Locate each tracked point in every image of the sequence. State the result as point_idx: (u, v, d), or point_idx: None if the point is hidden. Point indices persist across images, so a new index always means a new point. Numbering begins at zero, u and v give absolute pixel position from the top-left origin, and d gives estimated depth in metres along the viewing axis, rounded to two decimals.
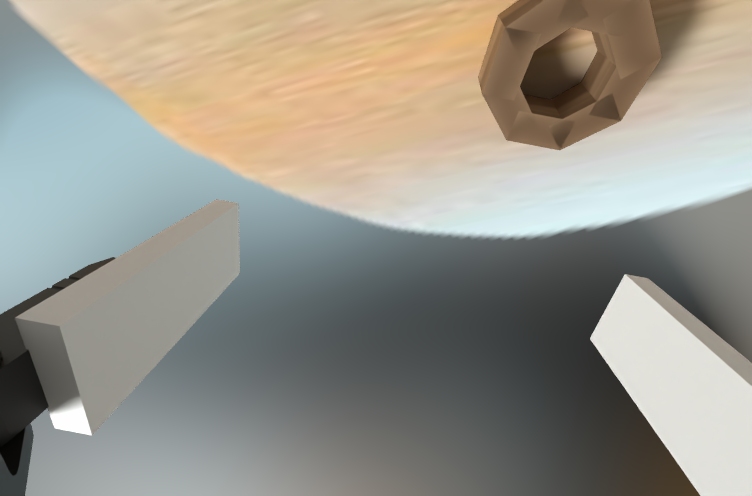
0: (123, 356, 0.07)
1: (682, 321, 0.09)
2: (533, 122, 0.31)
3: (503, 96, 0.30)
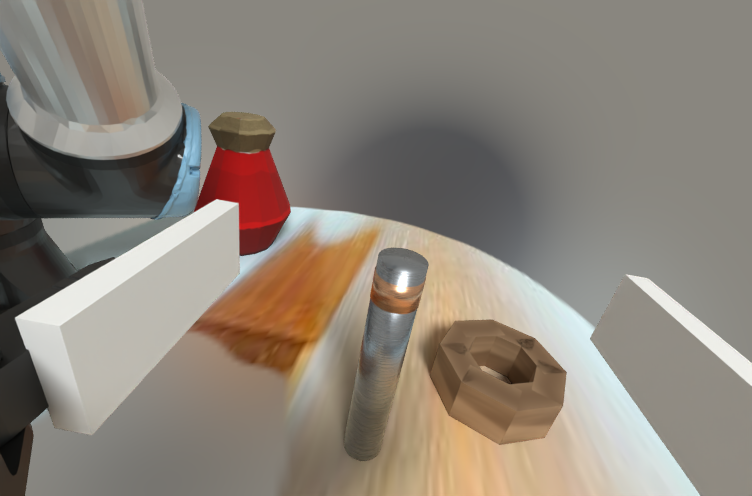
0: (123, 356, 0.07)
1: (682, 321, 0.09)
2: (541, 382, 0.33)
3: (518, 397, 0.31)
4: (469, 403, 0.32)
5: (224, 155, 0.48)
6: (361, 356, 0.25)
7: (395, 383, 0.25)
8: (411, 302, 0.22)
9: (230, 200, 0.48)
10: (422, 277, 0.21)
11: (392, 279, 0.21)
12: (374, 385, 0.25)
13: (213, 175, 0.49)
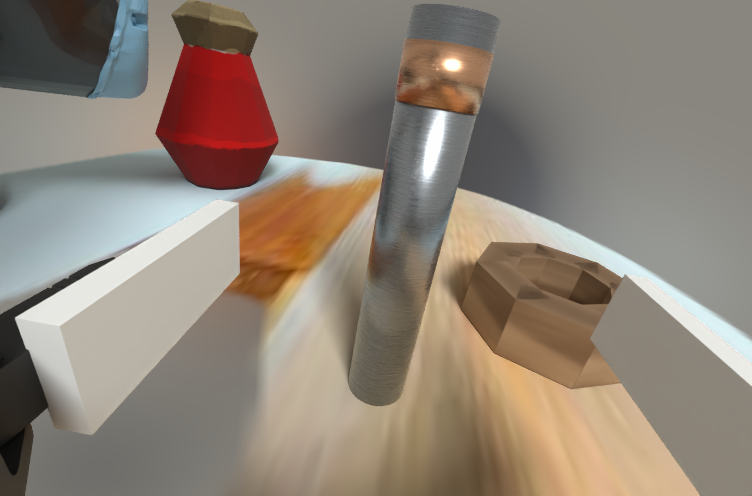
0: (123, 356, 0.07)
1: (682, 321, 0.09)
2: None
3: (599, 318, 0.22)
4: (526, 331, 0.22)
5: (192, 53, 0.38)
6: (378, 221, 0.15)
7: (432, 268, 0.16)
8: (471, 87, 0.12)
9: (200, 110, 0.38)
10: (493, 35, 0.12)
11: (440, 30, 0.11)
12: (400, 266, 0.15)
13: (179, 80, 0.39)
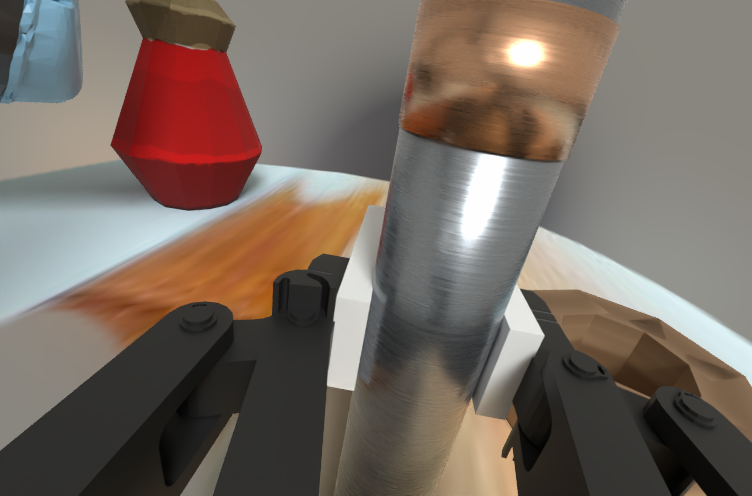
0: None
1: None
2: (717, 398, 0.17)
3: None
4: None
5: (151, 49, 0.31)
6: (367, 338, 0.08)
7: (463, 415, 0.09)
8: (572, 106, 0.05)
9: (162, 118, 0.32)
10: None
11: None
12: (408, 424, 0.08)
13: (137, 82, 0.32)
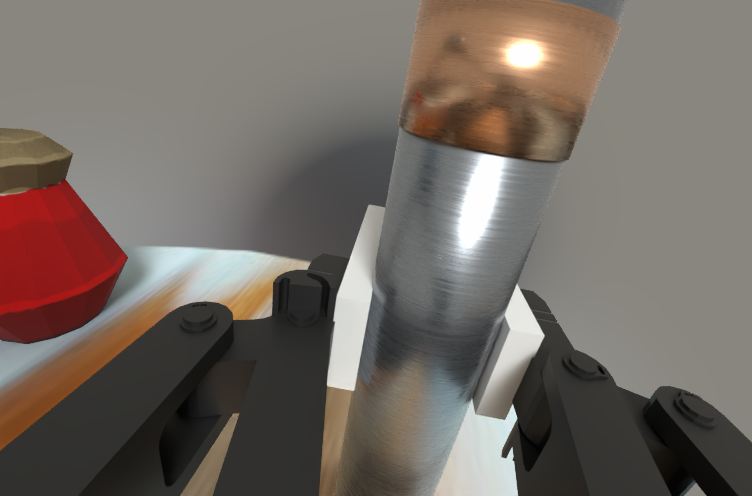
0: None
1: None
2: None
3: None
4: None
5: None
6: (367, 339, 0.08)
7: (463, 416, 0.09)
8: (573, 107, 0.05)
9: None
10: None
11: None
12: (408, 426, 0.08)
13: None
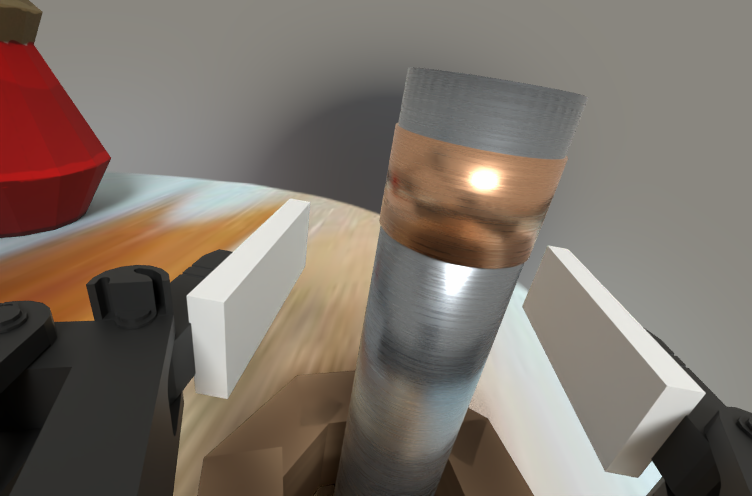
0: (246, 333, 0.08)
1: (581, 280, 0.10)
2: None
3: None
4: None
5: None
6: (355, 398, 0.09)
7: (444, 465, 0.10)
8: (527, 226, 0.06)
9: None
10: (573, 128, 0.06)
11: (469, 125, 0.05)
12: (392, 478, 0.09)
13: None
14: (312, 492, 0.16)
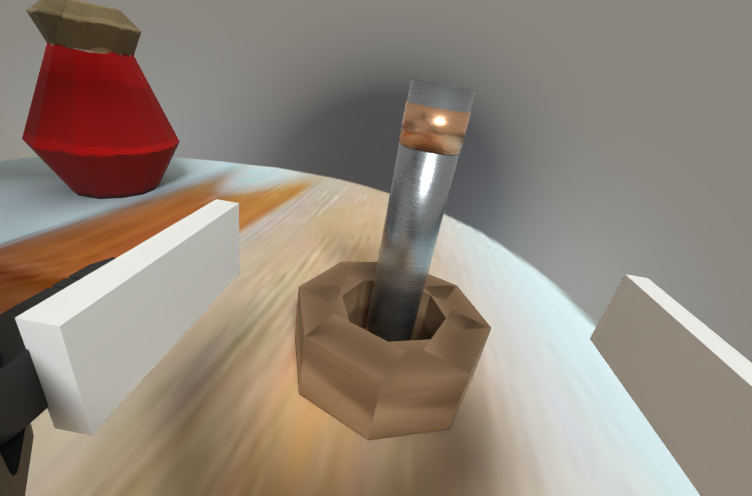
0: (123, 356, 0.07)
1: (682, 321, 0.09)
2: (445, 340, 0.21)
3: (395, 359, 0.19)
4: (320, 372, 0.19)
5: (52, 53, 0.35)
6: (385, 230, 0.20)
7: (427, 267, 0.21)
8: (454, 137, 0.17)
9: (63, 114, 0.36)
10: (469, 101, 0.17)
11: (431, 99, 0.16)
12: (402, 265, 0.20)
13: (42, 82, 0.36)
14: None
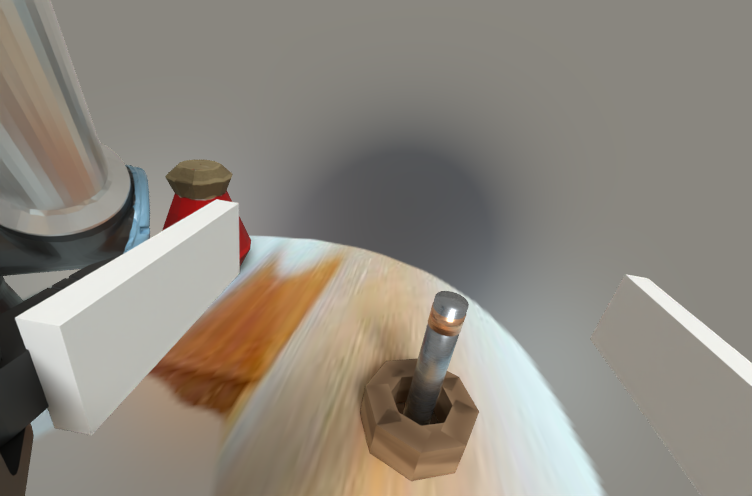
0: (123, 356, 0.07)
1: (682, 321, 0.09)
2: (452, 423, 0.37)
3: (426, 438, 0.35)
4: (384, 443, 0.36)
5: (180, 203, 0.51)
6: (419, 364, 0.36)
7: (442, 382, 0.37)
8: (457, 328, 0.33)
9: None
10: (465, 312, 0.33)
11: (446, 314, 0.32)
12: (429, 384, 0.36)
13: (171, 220, 0.52)
14: None
